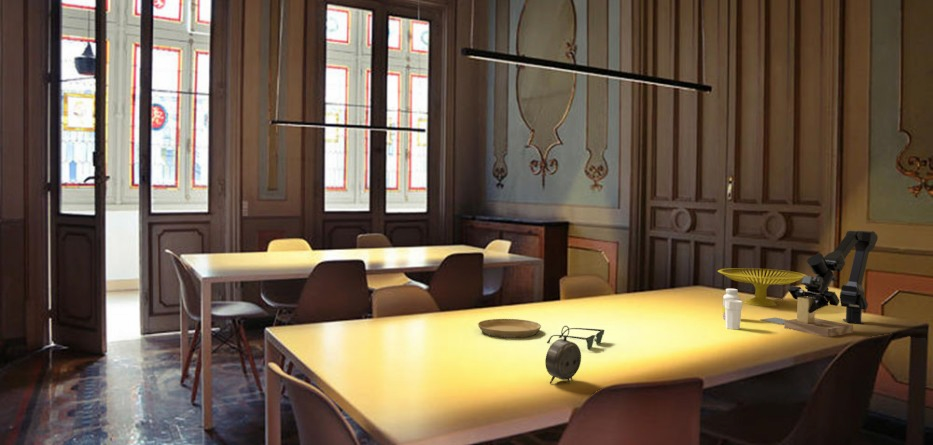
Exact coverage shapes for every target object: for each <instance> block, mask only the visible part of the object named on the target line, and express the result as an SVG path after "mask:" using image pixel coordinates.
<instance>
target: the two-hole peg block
mask: <svg viewBox="0 0 933 445" xmlns="http://www.w3.org/2000/svg"><path fill="white" fill-rule="evenodd" d="M783 328H784V329H786V328H789V329H788V330H791V329H793V330H792V331H796V330H797V331H796V332H802V333H807V334H812V335H816V336H820V337H826V338H830V337H835V336H841V335H846V334H847V335H848V334H853V333H854V332H853V331H854V324H851V323H846V322H845V323H844V322H838V321H834V320H828V319H822V318H816V317H815V320H814V323H813V324H804V323H799V322H797V318H795V319H786V321H785V324H783Z"/></svg>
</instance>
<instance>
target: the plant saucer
mask: <svg viewBox="0 0 933 445" xmlns="http://www.w3.org/2000/svg"><path fill="white" fill-rule="evenodd" d="M477 325H478V329H480V331H482V332H483V333H484V334H486V335H489V336H491V337H497V338H509V339H510V338H511V339H513V338H515V339H518V338H526V337H531V336H533V335H536V334H537V333H538V332H539V331H540V330H541V328H542V324H541V323H538V322H536V321H532V320H527V319H526V320H525V319H520V318H491V319H485V320H481V321H479V322H478V323H477Z"/></svg>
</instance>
